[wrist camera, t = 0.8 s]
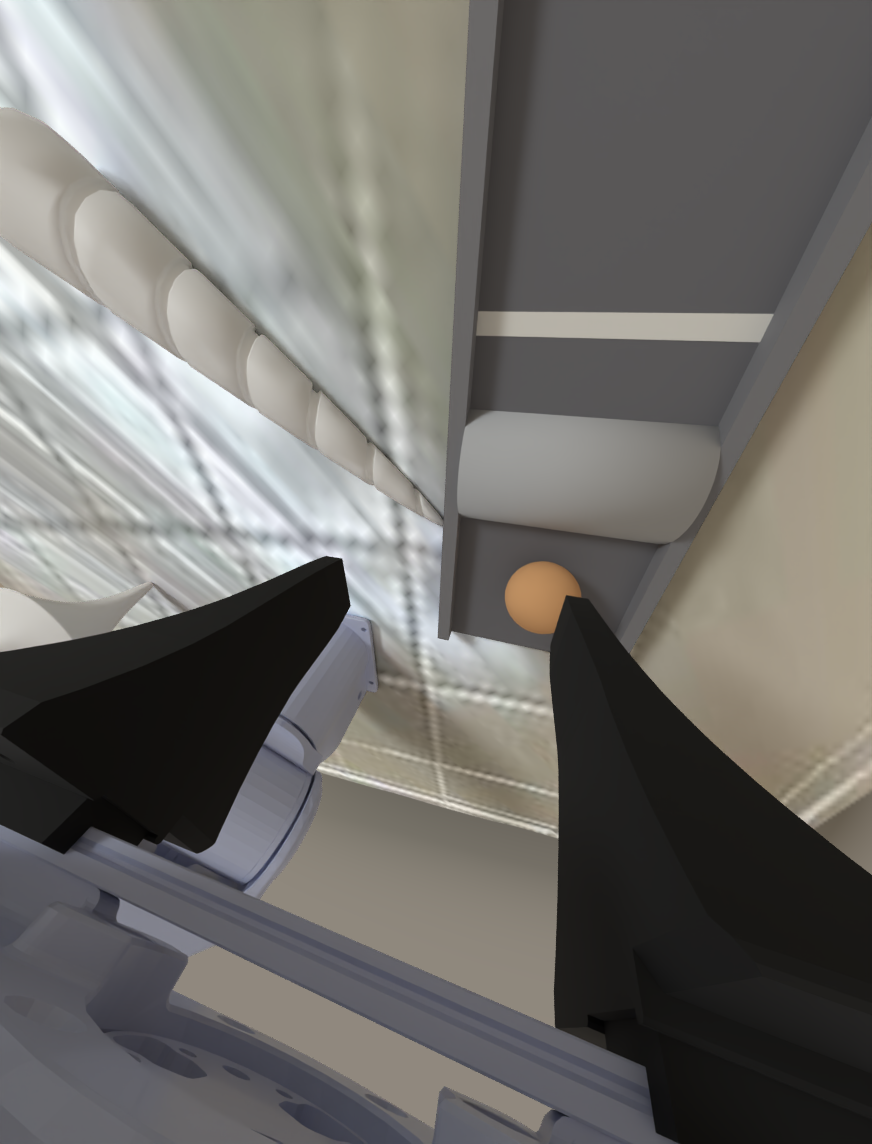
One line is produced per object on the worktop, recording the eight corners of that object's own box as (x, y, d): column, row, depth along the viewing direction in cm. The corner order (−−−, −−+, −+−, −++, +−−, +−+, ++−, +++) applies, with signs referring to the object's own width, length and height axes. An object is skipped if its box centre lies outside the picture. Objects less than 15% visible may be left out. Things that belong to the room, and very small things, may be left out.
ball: (567, 608, 20) (572, 657, 16) (502, 597, 20) (496, 640, 17) (586, 554, 17) (597, 597, 14) (513, 543, 18) (508, 582, 15)
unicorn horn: (410, 555, 22) (383, 597, 18) (84, 252, 17) (-53, 216, 13) (458, 513, 19) (438, 550, 15) (88, 138, 14) (-83, 49, 10)
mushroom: (81, 531, 30) (-137, 612, 20) (171, 547, 28) (-25, 646, 18) (138, 613, 36) (-10, 707, 26) (216, 632, 33) (86, 742, 24)
